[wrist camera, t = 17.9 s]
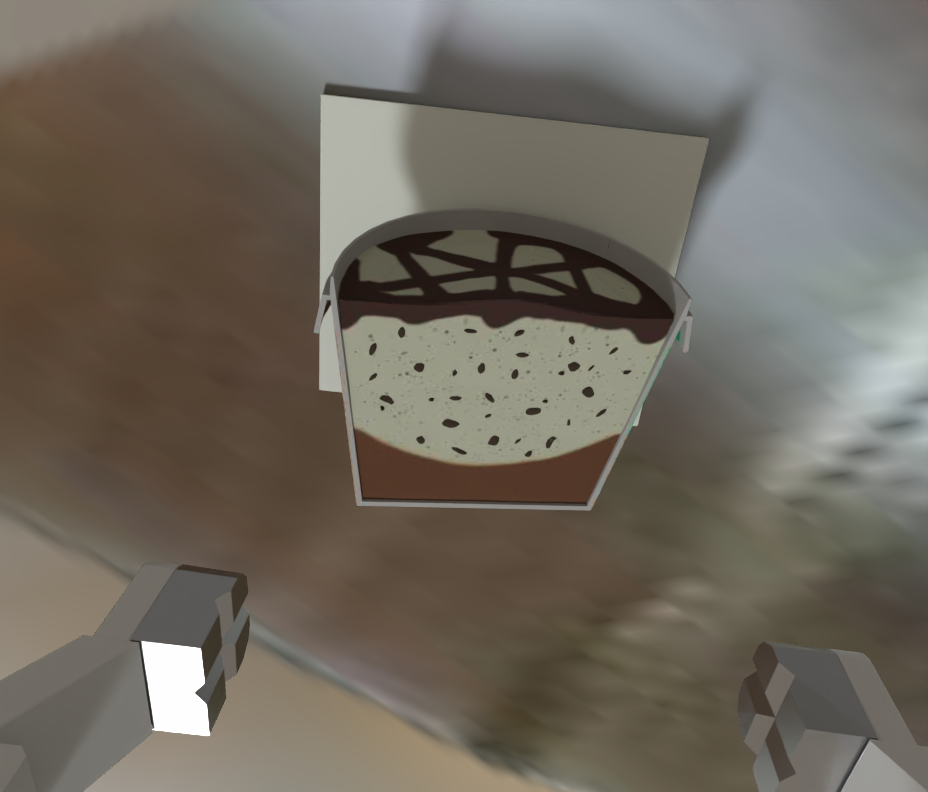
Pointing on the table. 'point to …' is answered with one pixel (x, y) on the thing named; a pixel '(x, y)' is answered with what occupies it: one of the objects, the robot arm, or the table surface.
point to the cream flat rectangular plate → (496, 179)
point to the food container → (495, 357)
